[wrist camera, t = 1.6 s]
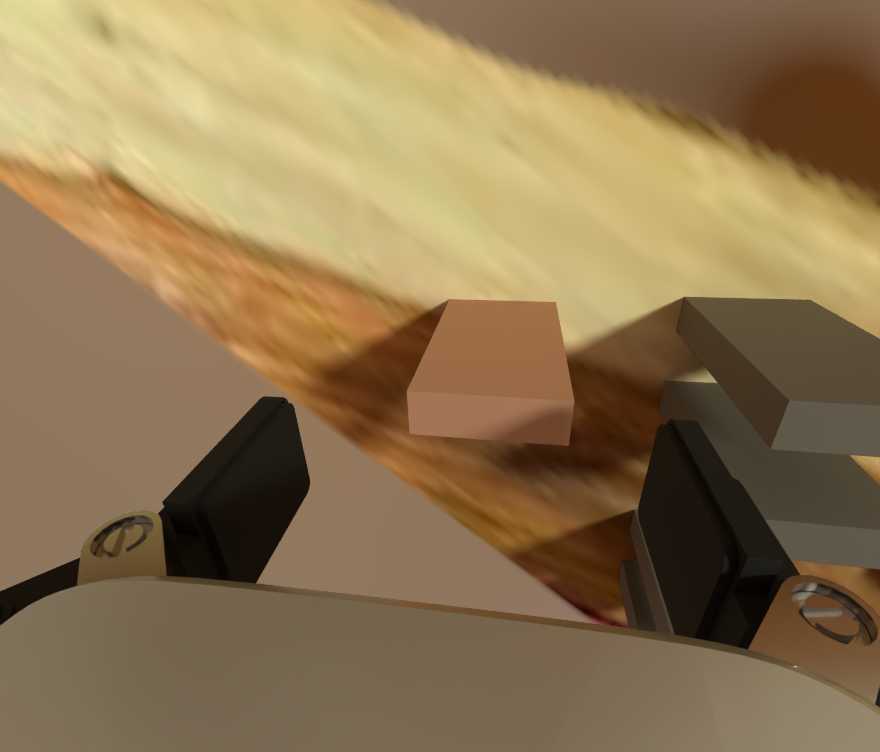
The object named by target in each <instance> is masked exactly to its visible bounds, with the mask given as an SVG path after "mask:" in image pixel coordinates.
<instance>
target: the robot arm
mask: <svg viewBox="0 0 880 752" xmlns="http://www.w3.org/2000/svg"><path fill="white" fill-rule="evenodd" d="M309 486H310V478H309V474H308V469H307V464H306V460H305V455H304V451H303V446H302V441H301V437H300V433H299V428H298V423H297V418H296V414H295V409H294V406H293V405H292V404H291V403H288V401H287V399H286V398H283V397H266V396H265V397H262V398H261V399H260V400H259V401H258V402H257V403H256V404H255V405H254V406H253V407H252V408H251V409H250V410H249V411H248V412H247V413H246V414H245V415H244V416H243V417H242V419H241V420H240V421H239V422H238V423H237V424H236V425H235V426H234V427H233V428H232V429H231V430H230V431H229V432H228V433H227V434H226V436H224V438H223V439H222V440H221V441H220V442H219V443H218V444H217V445H216V446H215V447H214V448H213V449H212V450H211V451H210V452H209V453H208V454H207V455H206V456H205V458H204V459H203V460H202V461H201V462H200V463H199V464H198V465H197V466H196V467H195V468H194V469H193V470H192V471H191V472H190V474H188V475H187V477H186V478H185V479H184V480H183V481H182V482H181V483H180V484H179V485H178V486H177V487H176V488H175V489H174V490H173V491H172V492H171V493H170V494H169V496H168V497H167V498H166V499H165V500H164V501H163V505H164V508H163V509H162V510H161V511H160V512H159V513H158V514H157V513H155V512H153V511H148V510H139V511H132V512H128V513H125V514H122V515H119V516H117V517H115V518H113V519H110V520H109V521H107V522H106V523H104V524H103V525H101V526H99V527H98V528H97V529H96V530H95V531H94V532H92V533H91V534H90V535H89V537H88V538H87V539H86V541H85V542H84V544H83V547H82V549H81V554H80V558H78V559H76V560H73V561H71V562H69V563H66V564H64V565H61V566H59V567H57V568H54V569H52V570H50V571H47V572H45V573H43V574H40V575H38V576H36V577H33V578H31V579H29V580H26V581H24V582H21V583H19V584H17V585H14V586H12V587H9V588H7V589H5V590H2V591H0V752H880V615H879V614H878V613H877V612H876V611H875V609H874V608H873V607H872V606H870V605H869V604H868V603H867V602H866V601H864V600H863V599H862V598H861V597H860V596H858V595H857V594H855V593H853V592H852V591H850V590H849V589H847V588H845V587H844V586H842V585H839V584H837V583H835V582H832V581H830V580H828V579H825V578H821V577H817V576H813V575H800V574H799V572H798V571H797V569H796V567H795V566H794V564H793V563H792V561H791V560H790V558H789V557H788V555H787V553H786V552H785V550H784V549H783V547H782V546H781V544H780V542H779V541H778V539H777V538H776V536H775V535H774V533H773V532H772V530H771V528H770V527H769V525H768V524H767V522H766V521H765V519H764V517H763V516H762V514H761V513H760V511H759V510H758V508H757V507H756V505H755V503H754V502H753V500H752V499H751V497H750V496H749V494H748V492H747V491H746V489H745V488H744V486H743V485H742V484H741V482H740V481H739V480H737V479H735V478H733V477H732V476H731V474H730V473H729V471H728V469H727V468H726V466H725V465H724V463H723V461H722V460H721V458H720V457H719V455H718V453H717V452H716V450H715V449H714V447H713V445H712V444H711V442H710V440H709V439H708V437H707V436H706V434H705V432H704V431H703V429H702V428H701V426H700V424H699V423H698V422H697V421H695V420H682V419H669V420H668V421H667V423H666V425H664V424H661V425H660V426H659V427H658V430H657V434H656V438H655V442H654V446H653V450H652V454H651V458H650V462H649V466H648V470H647V474H646V478H645V482H644V486H643V490H642V494H641V498H640V502H639V507H638V518H639V523H640V526H641V529H642V532H643V536H644V539H645V542H646V545H647V548H648V551H649V555H650V558H651V561H652V564H653V567H654V570H655V574H656V577H657V580H658V583H659V586H660V589H661V593H662V596H663V599H664V602H665V605H666V608H667V612H668V615H669V618H670V621H671V624H672V627H673V631H674V634H675V635H671V634H664V633H657V632H650V631H643V630H636V629H629V628H622V627H614V626H607V625H600V624H592V623H584V622H575V621H568V620H560V619H552V618H544V617H536V616H528V615H519V614H512V613H503V612H496V611H487V610H479V609H471V608H462V607H453V606H446V605H438V604H429V603H421V602H412V601H404V600H395V599H387V598H379V597H370V596H362V595H352V594H344V593H335V592H327V591H318V590H309V589H300V588H292V587H283V586H274V585H265V584H256V582H257V580H258V579H259V577H260V575H261V573H262V572H263V570H264V568H265V566H266V565H267V563H268V561H269V559H270V558H271V556H272V554H273V552H274V551H275V549H276V547H277V545H278V544H279V541H280V540H281V538H282V537H283V535H284V533H285V531H286V530H287V528H288V526H289V524H290V523H291V521H292V519H293V517H294V516H295V514H296V512H297V510H298V509H299V507H300V505H301V503H302V502H303V500H304V498H305V497H306V495H307V493H308V490H309Z"/></svg>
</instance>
